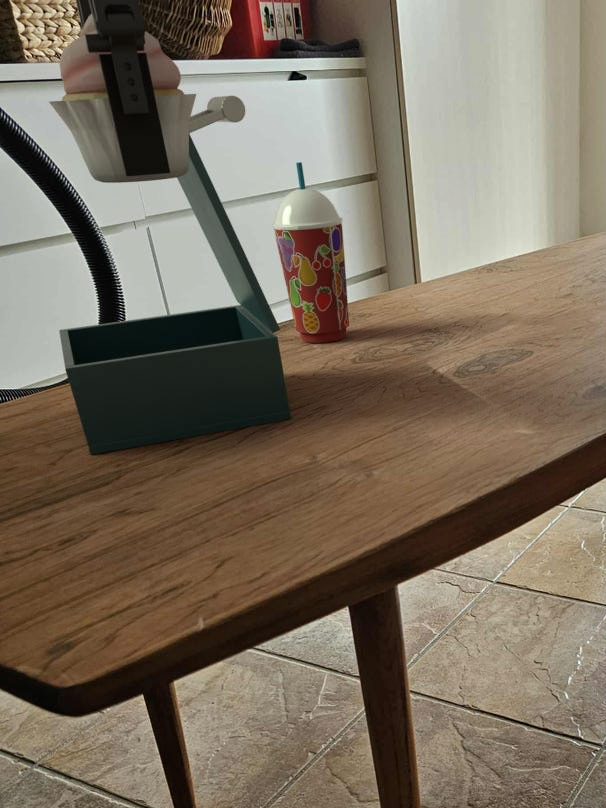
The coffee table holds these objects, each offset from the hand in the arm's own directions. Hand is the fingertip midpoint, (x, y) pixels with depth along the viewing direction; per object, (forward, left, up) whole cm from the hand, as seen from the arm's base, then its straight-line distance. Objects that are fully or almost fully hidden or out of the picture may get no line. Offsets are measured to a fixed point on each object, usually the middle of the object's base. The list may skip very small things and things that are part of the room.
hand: (140, 169), depth 62 cm
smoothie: (+22, +44, -23) cm, 54 cm away
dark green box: (+1, +22, -23) cm, 32 cm away
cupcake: (0, 0, -1) cm, 1 cm away
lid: (+7, +22, -5) cm, 24 cm away
